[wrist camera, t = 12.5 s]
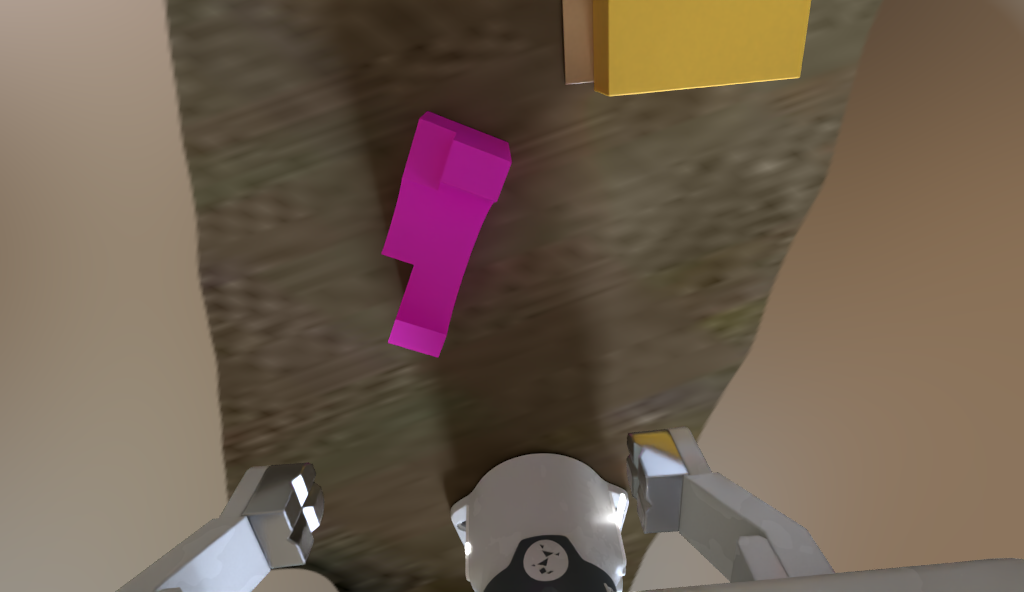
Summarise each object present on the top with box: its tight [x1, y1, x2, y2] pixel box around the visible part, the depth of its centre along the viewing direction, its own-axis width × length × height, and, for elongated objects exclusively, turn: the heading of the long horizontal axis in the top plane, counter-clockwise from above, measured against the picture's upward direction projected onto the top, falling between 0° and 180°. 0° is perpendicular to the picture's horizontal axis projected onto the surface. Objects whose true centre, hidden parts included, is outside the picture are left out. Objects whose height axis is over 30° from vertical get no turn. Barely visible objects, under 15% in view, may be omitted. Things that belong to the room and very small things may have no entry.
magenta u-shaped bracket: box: [382, 111, 512, 357], centre depth 37 cm, size 15×6×8 cm, turn 159°
